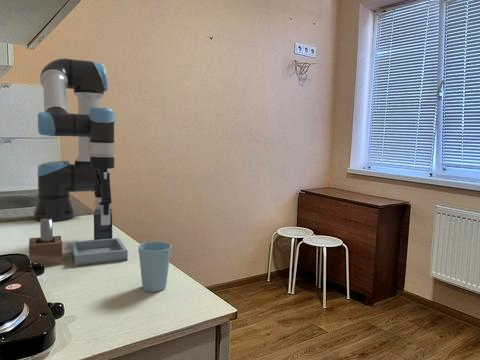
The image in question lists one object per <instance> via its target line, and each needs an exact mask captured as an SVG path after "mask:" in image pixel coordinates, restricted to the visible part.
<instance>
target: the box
mask: <svg viewBox="0 0 480 360" xmlns="http://www.w3.org/2000/svg"><path fill="white" fill-rule="evenodd" d="M112 238H113V208H110V225H101V209H94V213H93V240H100V239H112Z"/></svg>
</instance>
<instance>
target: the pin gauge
mask: <svg viewBox="0 0 480 360" xmlns="http://www.w3.org/2000/svg"><path fill="white" fill-rule="evenodd" d="M39 222H40V223H39V224H40V225H39V226H40V229H39V230H40V237H41V243H50V242H53V236H54V235H53V234H54V233H53V232H54V231H53V230H54V229H53V221H52V219H51V218H45V219H41V220H40V221H39Z"/></svg>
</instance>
